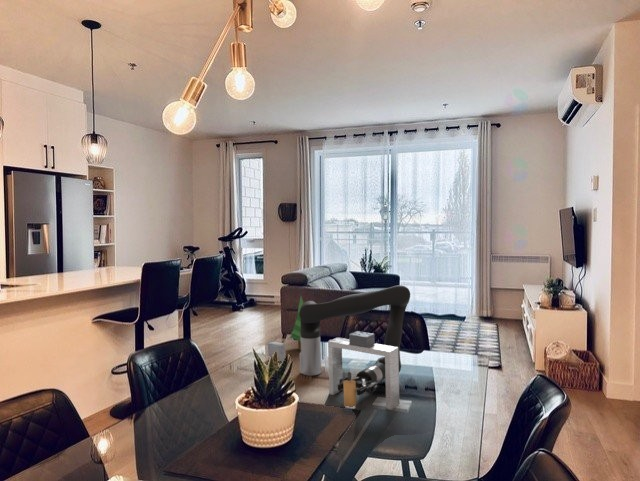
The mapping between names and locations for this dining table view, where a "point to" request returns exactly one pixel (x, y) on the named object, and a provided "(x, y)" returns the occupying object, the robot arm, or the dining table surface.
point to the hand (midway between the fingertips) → (347, 390)
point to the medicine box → (277, 350)
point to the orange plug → (349, 391)
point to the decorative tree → (297, 326)
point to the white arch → (366, 345)
